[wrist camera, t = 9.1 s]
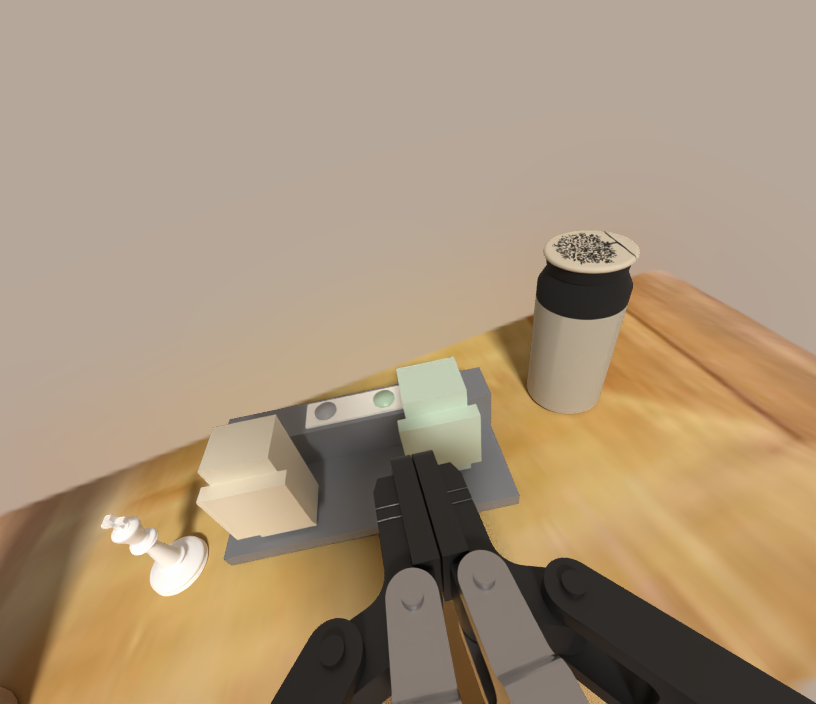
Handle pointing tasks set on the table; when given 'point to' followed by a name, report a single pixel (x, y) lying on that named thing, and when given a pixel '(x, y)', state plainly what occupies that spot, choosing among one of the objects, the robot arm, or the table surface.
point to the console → (366, 465)
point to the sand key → (257, 480)
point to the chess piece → (161, 554)
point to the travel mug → (578, 317)
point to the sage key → (439, 414)
